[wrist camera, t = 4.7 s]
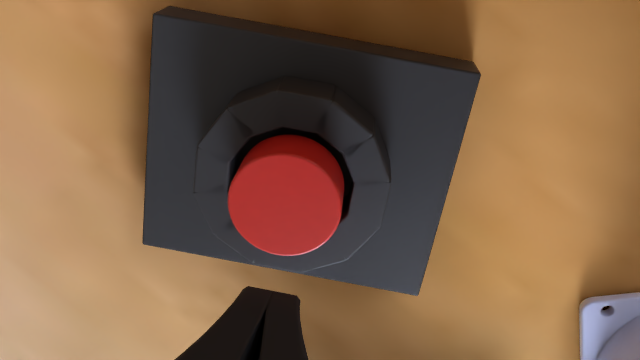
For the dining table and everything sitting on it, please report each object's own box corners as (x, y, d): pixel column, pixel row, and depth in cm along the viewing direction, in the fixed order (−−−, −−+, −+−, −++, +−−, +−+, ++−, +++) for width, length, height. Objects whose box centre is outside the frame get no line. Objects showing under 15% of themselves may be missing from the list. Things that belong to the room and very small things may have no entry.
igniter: (474, 61, 21) (491, 88, 18) (415, 272, 25) (421, 326, 22) (168, 5, 21) (132, 22, 18) (156, 224, 25) (124, 269, 22)
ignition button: (353, 144, 20) (351, 165, 18) (334, 239, 21) (330, 266, 20) (244, 124, 20) (232, 143, 18) (233, 220, 21) (221, 245, 20)
